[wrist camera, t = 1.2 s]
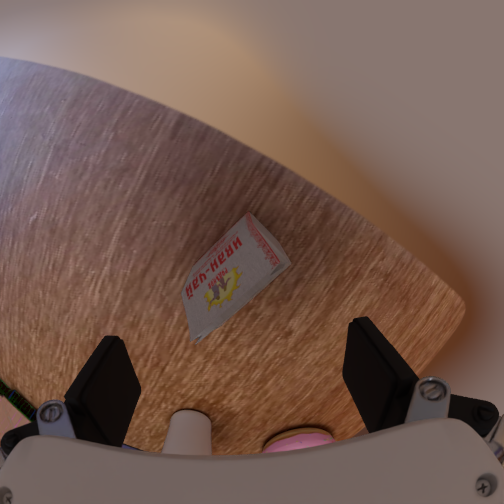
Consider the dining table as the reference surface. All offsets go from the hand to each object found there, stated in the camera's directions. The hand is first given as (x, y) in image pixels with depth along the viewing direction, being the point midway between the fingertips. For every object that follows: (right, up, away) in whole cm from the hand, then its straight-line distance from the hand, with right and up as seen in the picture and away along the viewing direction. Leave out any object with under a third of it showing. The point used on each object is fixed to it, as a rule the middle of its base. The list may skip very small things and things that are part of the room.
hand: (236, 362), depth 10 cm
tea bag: (-1, +4, +14) cm, 14 cm away
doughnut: (+7, -24, +22) cm, 34 cm away
